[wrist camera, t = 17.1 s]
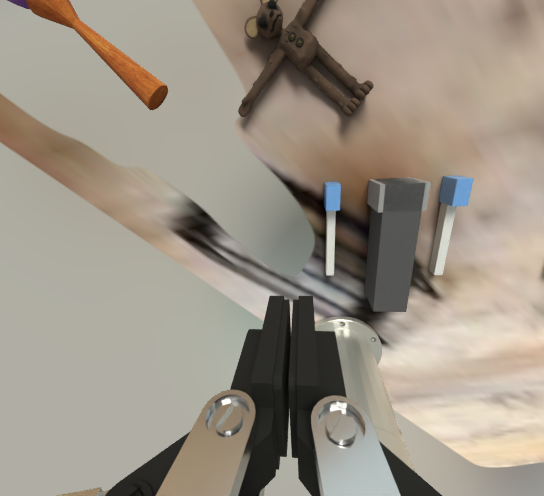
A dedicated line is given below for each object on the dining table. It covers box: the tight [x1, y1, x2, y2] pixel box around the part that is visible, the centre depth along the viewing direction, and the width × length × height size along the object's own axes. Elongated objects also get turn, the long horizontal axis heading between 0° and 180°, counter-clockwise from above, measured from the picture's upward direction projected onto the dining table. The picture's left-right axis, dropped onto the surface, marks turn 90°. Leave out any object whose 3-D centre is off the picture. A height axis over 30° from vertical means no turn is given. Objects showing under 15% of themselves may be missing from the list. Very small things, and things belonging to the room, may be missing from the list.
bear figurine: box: [238, 0, 374, 117], centre depth 26 cm, size 18×4×14 cm
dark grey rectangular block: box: [364, 177, 431, 312], centre depth 31 cm, size 16×5×5 cm, turn 3°
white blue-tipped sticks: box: [324, 176, 473, 275], centre depth 31 cm, size 12×29×3 cm, turn 93°
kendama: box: [8, 0, 168, 110], centre depth 27 cm, size 6×6×20 cm
